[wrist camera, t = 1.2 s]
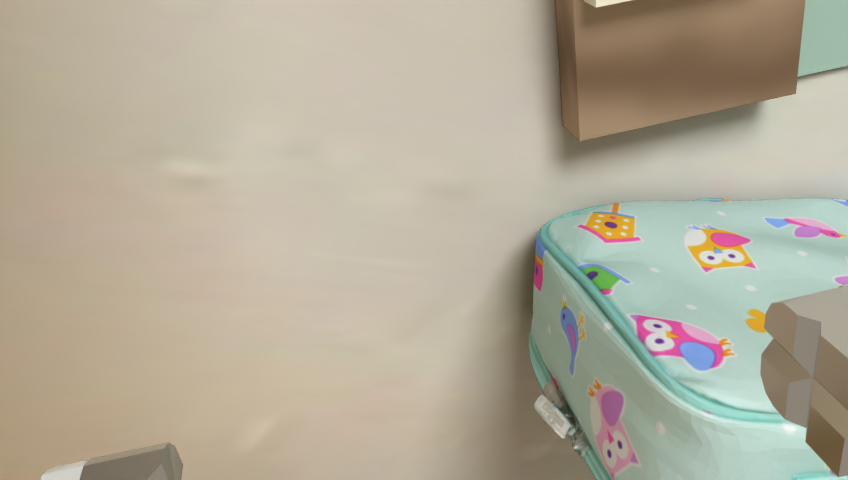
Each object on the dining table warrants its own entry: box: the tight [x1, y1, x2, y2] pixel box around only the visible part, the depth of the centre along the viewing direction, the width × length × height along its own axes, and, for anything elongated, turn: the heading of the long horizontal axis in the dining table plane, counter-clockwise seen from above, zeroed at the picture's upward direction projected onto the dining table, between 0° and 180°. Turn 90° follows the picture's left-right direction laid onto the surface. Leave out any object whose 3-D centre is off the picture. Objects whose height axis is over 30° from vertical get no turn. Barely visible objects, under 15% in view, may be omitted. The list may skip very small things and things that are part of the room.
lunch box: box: [528, 198, 848, 480], centre depth 38 cm, size 27×10×21 cm, turn 86°
